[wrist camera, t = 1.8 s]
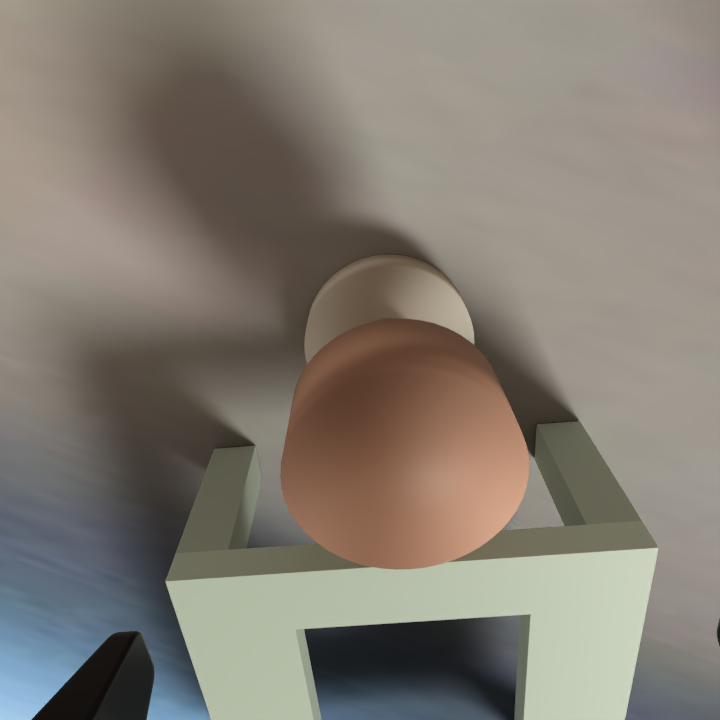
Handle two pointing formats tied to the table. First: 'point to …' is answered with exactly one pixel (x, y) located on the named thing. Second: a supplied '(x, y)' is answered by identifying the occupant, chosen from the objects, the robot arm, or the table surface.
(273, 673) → the keyhole board
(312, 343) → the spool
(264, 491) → the table surface
